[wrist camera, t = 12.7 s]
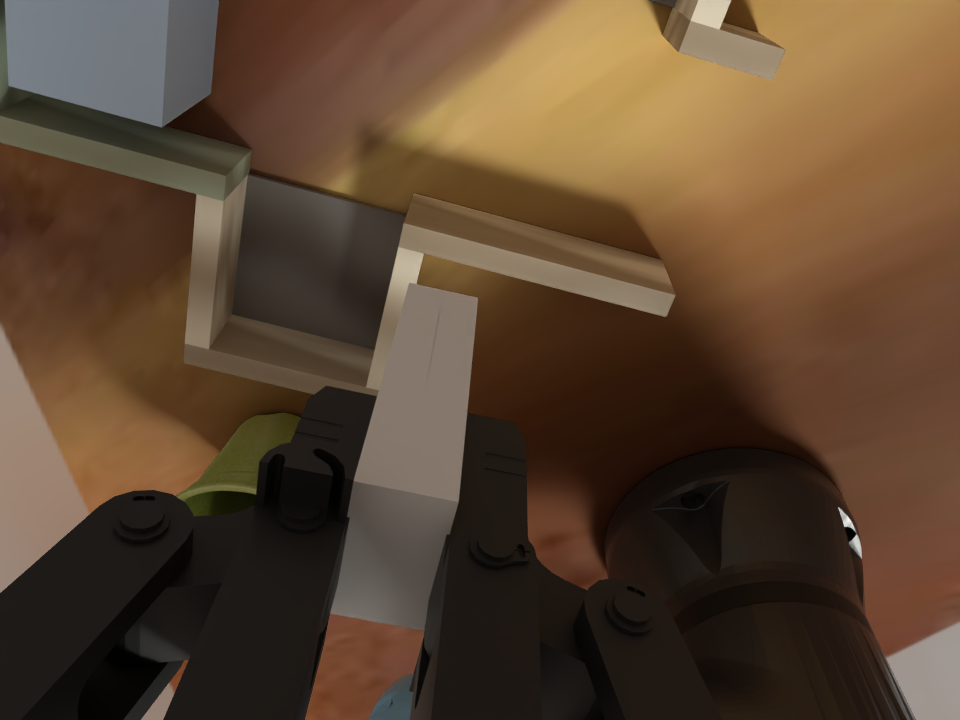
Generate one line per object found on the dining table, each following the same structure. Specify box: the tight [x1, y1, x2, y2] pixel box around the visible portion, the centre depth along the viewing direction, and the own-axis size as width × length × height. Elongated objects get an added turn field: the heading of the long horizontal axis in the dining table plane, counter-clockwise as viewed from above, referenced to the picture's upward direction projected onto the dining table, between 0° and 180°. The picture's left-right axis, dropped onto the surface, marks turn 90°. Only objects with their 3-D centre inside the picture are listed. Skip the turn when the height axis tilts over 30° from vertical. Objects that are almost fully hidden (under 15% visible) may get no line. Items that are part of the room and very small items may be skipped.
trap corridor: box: [0, 0, 786, 396], centre depth 34 cm, size 31×32×4 cm
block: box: [5, 0, 219, 127], centre depth 32 cm, size 6×6×6 cm
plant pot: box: [176, 413, 301, 516], centre depth 44 cm, size 9×9×9 cm
